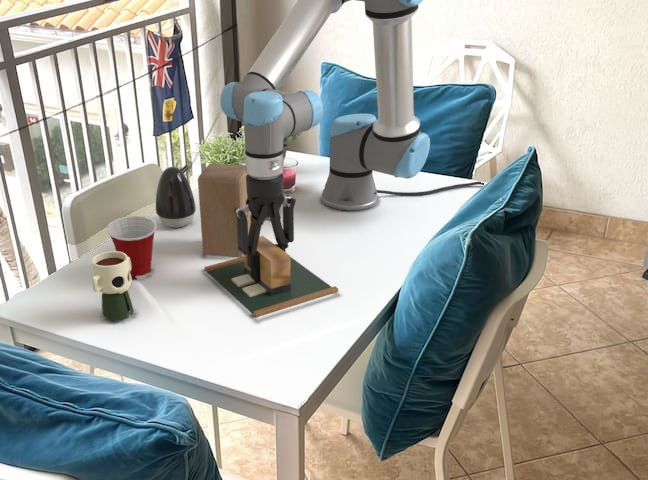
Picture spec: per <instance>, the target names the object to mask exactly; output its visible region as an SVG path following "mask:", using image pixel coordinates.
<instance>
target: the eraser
mask: <svg viewBox="0 0 648 480" xmlns="http://www.w3.org/2000/svg"><path fill="white" fill-rule="evenodd" d="M275 244H276V243H274V242H272V241H271V240H269V239H268V238H267V237H266V236H264V235H260V236H259V241H258V245H257V250H256V253H258V254H259V260H260V282H258V283H259V284H260V285H261V286H262V287H263V288H265V289H266V292H267V293H269V294H270V295H274V294H277V293H281V292H284V291H288V290H291V283H290V257H291V255H290V254H289V253H287V251H286V252H284V251H283V250H282V249H280V248H279V247H278V246H276V245H275ZM243 257H244V260H245V267H244V273H245V274H248V275H249V276H251V268H250V267H248V265H247V255H244V256H243ZM255 282H256V281H255ZM256 283H257V282H256ZM258 283H257V284H258Z"/></svg>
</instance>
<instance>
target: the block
mask: <svg viewBox="0 0 648 480" xmlns="http://www.w3.org/2000/svg"><path fill="white" fill-rule="evenodd" d="M246 176H247V173H246V164H231V163H229V164H228V163H213V162H212V163H209V164H208V165H207V166H206V167H205V168H204V170H203V171H202V172H201V173H200V174H199V175H198V177H197V188H198V189H197V190H198V202H199V203H198V204H199V214H200V215H199V217H200V228H201V229H200V230H201V243H202V254H203V255H206V256H217V257H218V256H219V257H230V258H240V257H244V254H243V253H242V252H240V251H239V250H238V236H237V217H236V215H235V212H234V209H235V208H236V207H238V208H241V207H242V206H244V205H246V200H247V197H248V196H247V190H246ZM250 217H251V212H250V210H249V211H248V217H247V221H248V234H249V229H250V224H251V220H250Z"/></svg>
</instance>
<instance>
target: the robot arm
mask: <svg viewBox="0 0 648 480" xmlns="http://www.w3.org/2000/svg"><path fill="white" fill-rule="evenodd" d="M350 1H351V0H297V1H296V2H295V3H294V5H293V6H292V8H291V9H290V11H289V12H288V14H287V15H286V16H285V18H284V20H283V21H282V23H281V24H280V25H279V27H278V28H277V30H276V31H275V32H274V33H273V35H272V37H271V38H270V40H269V41H268V43H267V44H266V45H265V47H264V49H263V50H262V51H261V53H260V54H259V56H258V57H257V58H256V60H255V62H254V63H253V64H252V66H251V67H250V69H249V70H248V72H247V73H246V75H245V76H244V77H243V79H242V81H241V82H240V81H231V82H229V83H228V84H226V85H225V86H224V87H223V89H222V90H221V93H220V98H219V103H220V108H221V111H222V113H223V114H224V116H226V117H228V118H230V119H233V120H235V121H239V122H242V123H243V130H244V158H245V159H244V160H245V165H246V173H247V176H246V190H247V196H248V197H247V200H246V205H244V206H242V207H241V208H238V207H236V208H235V209H234V212H235V215H236V217H237V236H238V250H239V251H240V252H242V253H243V254H244V255H247V265H248V267H250V268H251V278H252V279H253V280H254V281H256V282H257V283H258V282H260V260H259V254H258V253H256V250H257V245H258V241H259V237H260V236H261V232H262V231H261V230H262V226H263V225H264V222H265V220H266V219H270V225H271V227H272V231H273V235H274V239H275V242H276V243H274V244H275V245H276V246H278V247H279V248H280V249H282V250H283V251H284V252H286V253H287V250H286V249H288V248H289V243H293V242H294V240H295V226H294V222H295V221H294V220H295V217H294V215H295V214H294V210H295V206H296V202H297V200H296V198H294V197H293V196H291V195H289V194H287V195H284V174H283V173H284V139H287V138H289V137H292V136H295V135H298V134H300V133H303V132H306V131H307V132H308V131H309V130H310V129H312V128H314V127H316V126H318V125H319V124H320V123H321V121H322V119H323V117H324V104H323V101H322V99H321V97H320V96H319V95H318V94H317V93H316V92H314V90H313V91H312V90H310V89H309V90H308V89H307V90H298V91H296V92H289V91H288V92H287V91H283V90H280V89H281V88H282V86H284V83H286V81H287V80H288V78H289V77H290V75H291V73H292V72H293V71H294V70H295V68H296V66H297V64H298V63H299V62H300V60H301V59H302V57H303V56H304V54H305V53H306V51H307V50H308V48H309V47H310V45H311V44H312V42H313V41H314V40H315V38H316V37H317V36H318V34H319V32H320V31H321V29H322V28H323V26H324V25H325V23H326V22H327V20H329V19H328V18H329V17H330V16H331V14H335V13H337V12H339V11H340V10H341V8H342V6H343V5H344V4H346V3H347V2H350ZM356 1H357V2H358V1H359V2H364V13H365V16H366V18H368V19H369V20H370V21H371V22H372V33H373V49H374V51H373V53H374V67H375V69H374V70H375V84H376V85H375V86H376V102H377V103H376V105H377V117H376V115H374V114H372V113H352V114H345V115H341V116H338V117H336V118H335V119H334V120H332V122H331V125H330V133H329V138H330V139H329V173H328V176H327V179H326V182H325V185H324V188H323V190H322V194H321V201H322V203H323V204H324V205H325V206H327V207H329V208H330V209H331V208H332V209H334V210H339V211H348V212H350V211H351V212H354V211H355V212H356V211H363V210H368V209H371V208H372V207H374V206H376V205H377V203H378V196H379V195H378V194H385V195H392V196H393V195H394V196H422V195H429V194H430V195H431V194H435V193H438V192H442V191H446V190H447V191H448V190H452V189H456V188H463V187H464V188H465V187H472V186H476V185H481V186H484V183H485V182H484V183H481V182H482V181H473V182H468V183H467V182H466V183H457V184H453V185H448V186H443V187H439V188H434V189H431V190H426V191H415V192H414V191H413V192H409V191H408V192H407V191H403V192H402V191H391V190H382V189H377V187H376V183H375V180H374V175H373V172H377V173H381V174H385V175H389V176H393V177H394V178H402V179H406V180H407V179H409V180H410V179H412V178H414V177H416V176H417V175H418V174H419V173H420V172H421V171H422V169H423V167H424V165H425V164H426V162H427V159H428V157H429V153H430V148H431V147H430V146H431V138H430V136H429V134H426V133H425V132H421V121H420V119H419V118H418V117H417V116H415V111H414V108H415V107H414V69H413V68H414V66H413V65H414V62H413V61H414V60H413V22H412V21H413V19H412V18H413V16H414V15H415V14H416V13H417V12H418V10H419V5H421V3H423V1H424V0H356ZM281 208H282V216H281V213H280V209H281ZM249 210H250V212H251V217H250V220H251V224H250V229H249V234H248V221H247V217H248V211H249ZM281 219H282V221H281Z"/></svg>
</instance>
